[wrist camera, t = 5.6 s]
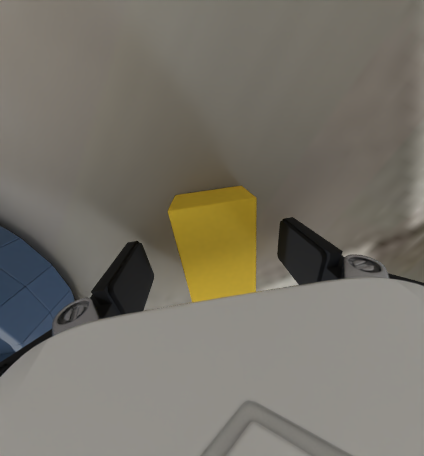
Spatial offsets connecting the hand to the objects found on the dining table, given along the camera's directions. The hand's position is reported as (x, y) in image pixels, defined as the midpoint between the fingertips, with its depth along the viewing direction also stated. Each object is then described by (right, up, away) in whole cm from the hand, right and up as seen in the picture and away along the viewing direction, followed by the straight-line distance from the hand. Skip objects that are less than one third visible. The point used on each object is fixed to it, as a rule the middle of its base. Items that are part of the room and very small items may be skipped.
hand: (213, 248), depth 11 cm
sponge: (0, +1, +1) cm, 2 cm away
